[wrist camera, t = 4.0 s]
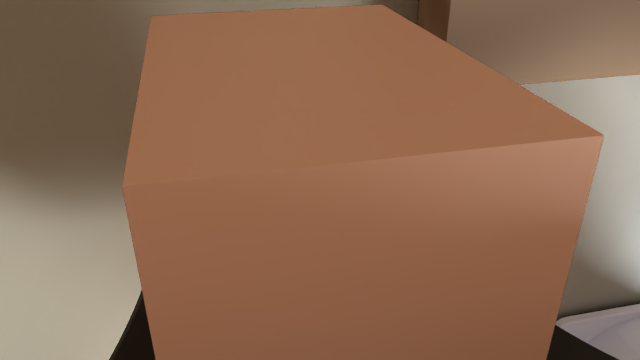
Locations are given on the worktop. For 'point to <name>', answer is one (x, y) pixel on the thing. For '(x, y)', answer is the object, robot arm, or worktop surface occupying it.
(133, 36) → the worktop surface
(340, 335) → the bar
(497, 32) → the board
